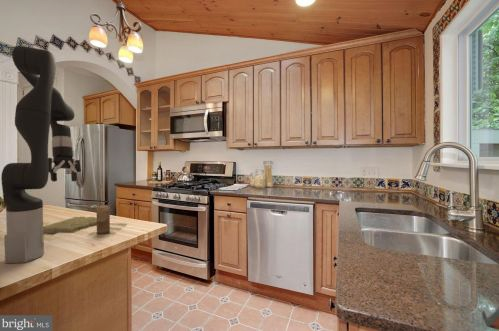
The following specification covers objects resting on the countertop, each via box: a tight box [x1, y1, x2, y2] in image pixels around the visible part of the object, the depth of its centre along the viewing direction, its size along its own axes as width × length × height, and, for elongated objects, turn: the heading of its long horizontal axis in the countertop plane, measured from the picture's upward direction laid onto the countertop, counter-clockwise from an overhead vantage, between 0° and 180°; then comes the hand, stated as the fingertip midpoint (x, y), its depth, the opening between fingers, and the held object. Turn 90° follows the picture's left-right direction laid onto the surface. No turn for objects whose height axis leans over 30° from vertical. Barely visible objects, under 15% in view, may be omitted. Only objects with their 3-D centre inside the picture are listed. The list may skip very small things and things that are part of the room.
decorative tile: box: [43, 216, 97, 235], centre depth 115 cm, size 19×20×4 cm
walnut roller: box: [96, 204, 111, 235], centre depth 104 cm, size 5×5×12 cm
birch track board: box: [86, 222, 130, 237], centre depth 110 cm, size 19×11×1 cm, turn 8°
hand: (64, 181), depth 108 cm, fingers open, 8 cm apart
